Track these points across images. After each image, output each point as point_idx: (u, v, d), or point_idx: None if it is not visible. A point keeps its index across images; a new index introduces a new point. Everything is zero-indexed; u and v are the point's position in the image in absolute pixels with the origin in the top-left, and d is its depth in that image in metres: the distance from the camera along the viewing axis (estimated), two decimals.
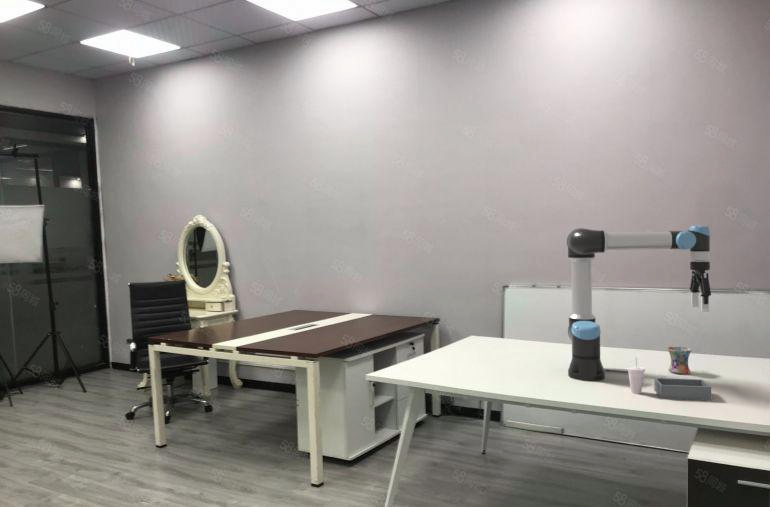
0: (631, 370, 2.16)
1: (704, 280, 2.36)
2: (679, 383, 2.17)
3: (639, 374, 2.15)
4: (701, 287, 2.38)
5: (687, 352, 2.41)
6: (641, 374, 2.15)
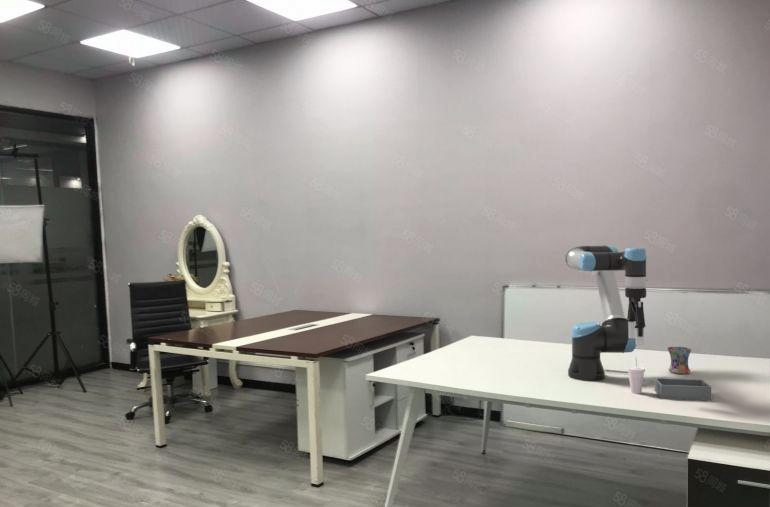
0: (631, 370, 2.16)
1: (638, 310, 2.10)
2: (679, 383, 2.17)
3: (639, 374, 2.15)
4: (635, 317, 2.11)
5: (687, 352, 2.41)
6: (641, 374, 2.15)
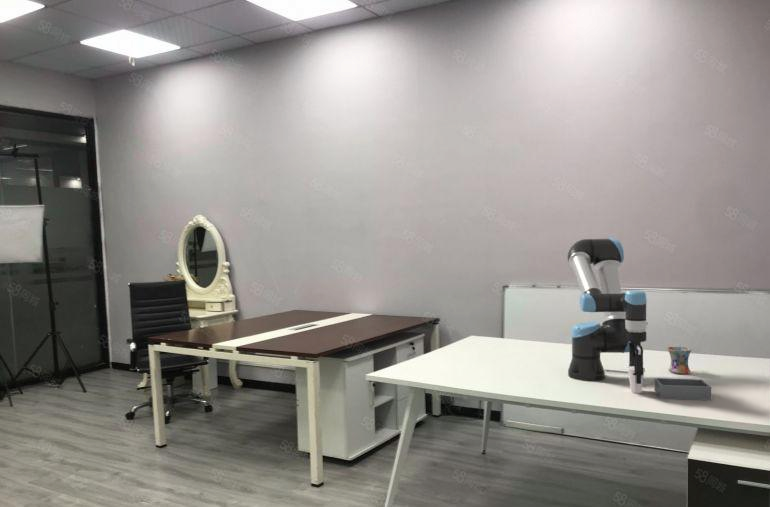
0: (631, 370, 2.16)
1: (638, 357, 2.12)
2: (679, 383, 2.17)
3: None
4: (634, 364, 2.14)
5: (687, 352, 2.41)
6: None
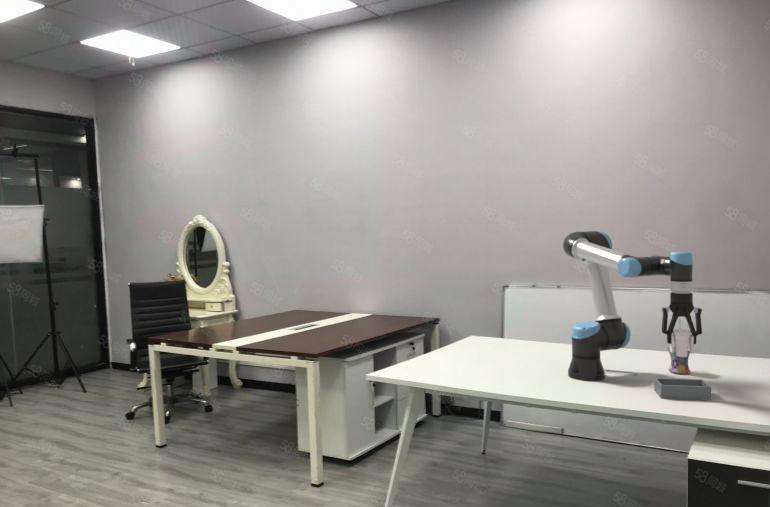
0: None
1: (663, 316, 2.14)
2: (679, 383, 2.17)
3: (674, 335, 2.12)
4: None
5: None
6: (676, 336, 2.11)
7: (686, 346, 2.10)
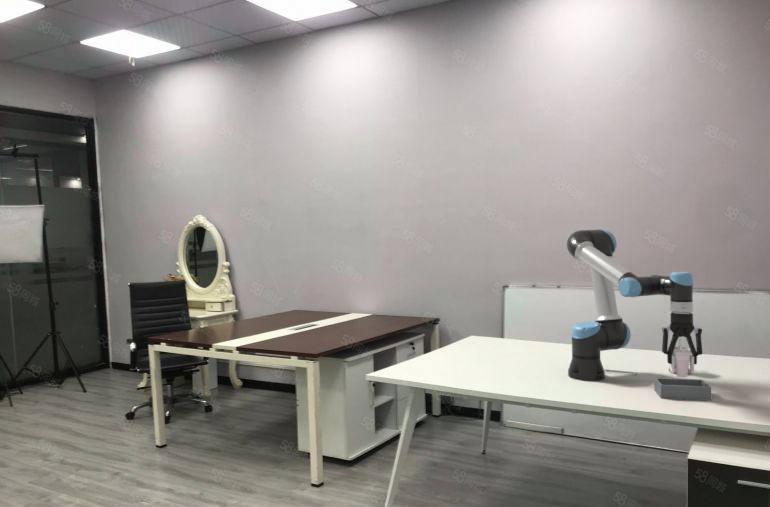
0: None
1: (663, 336, 2.14)
2: (679, 383, 2.17)
3: (674, 355, 2.12)
4: (670, 343, 2.14)
5: None
6: (676, 356, 2.12)
7: (686, 366, 2.10)
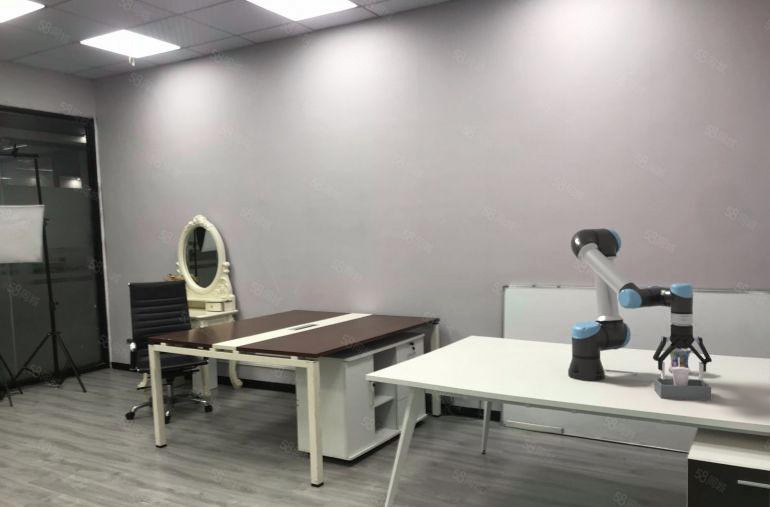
0: None
1: (660, 344, 2.14)
2: None
3: (673, 373, 2.13)
4: None
5: (687, 352, 2.41)
6: (675, 374, 2.12)
7: (685, 384, 2.11)
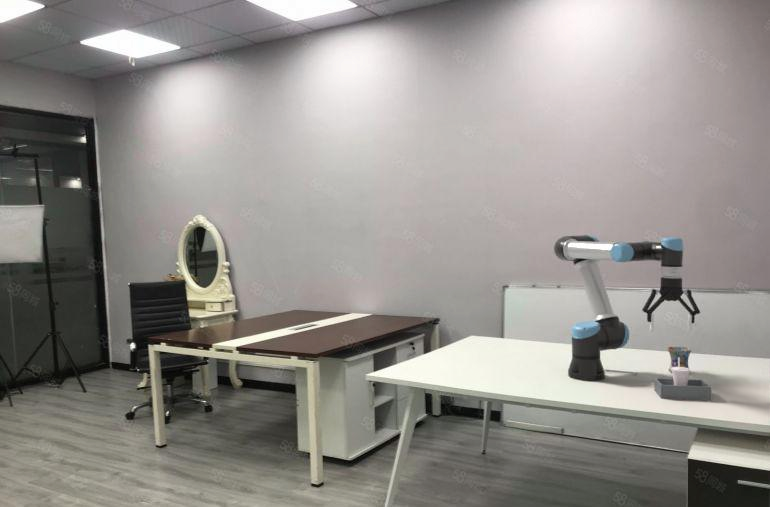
0: None
1: (650, 296, 2.20)
2: None
3: (673, 373, 2.13)
4: (653, 304, 2.20)
5: (687, 352, 2.41)
6: (675, 374, 2.12)
7: (685, 384, 2.11)
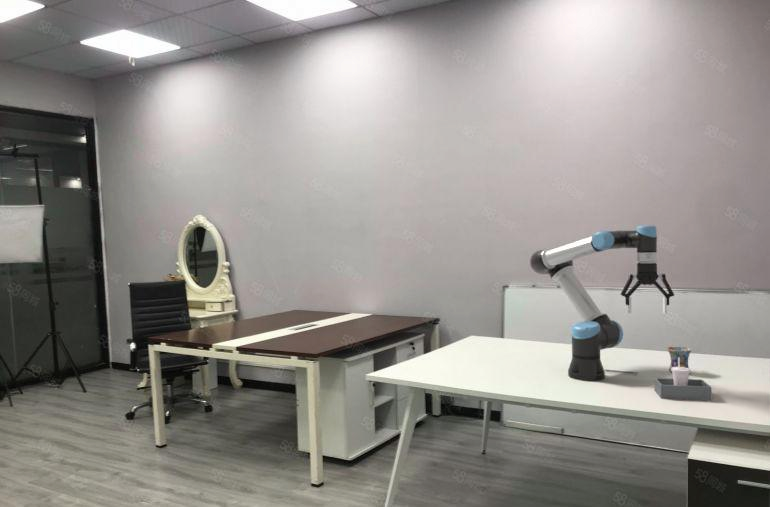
0: None
1: (627, 281, 2.34)
2: None
3: (673, 373, 2.13)
4: (631, 288, 2.35)
5: (687, 352, 2.41)
6: (675, 374, 2.12)
7: (685, 384, 2.11)
